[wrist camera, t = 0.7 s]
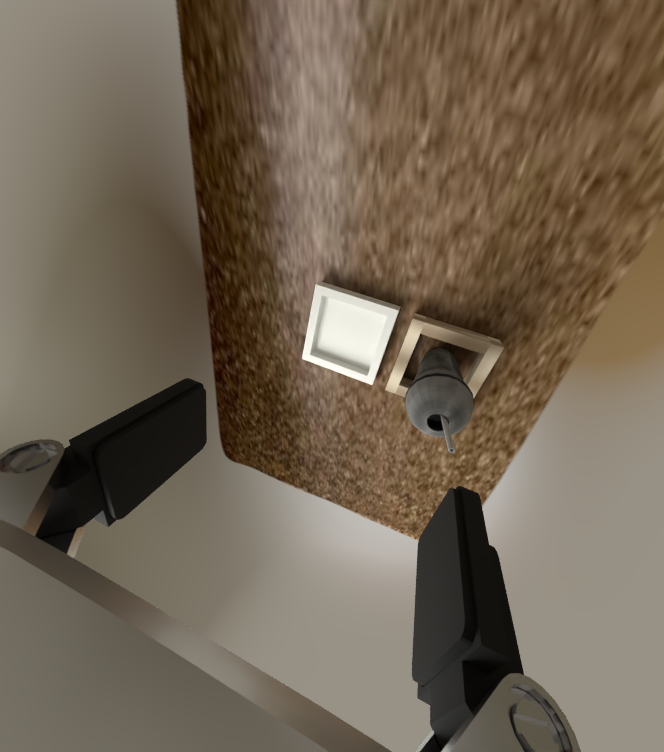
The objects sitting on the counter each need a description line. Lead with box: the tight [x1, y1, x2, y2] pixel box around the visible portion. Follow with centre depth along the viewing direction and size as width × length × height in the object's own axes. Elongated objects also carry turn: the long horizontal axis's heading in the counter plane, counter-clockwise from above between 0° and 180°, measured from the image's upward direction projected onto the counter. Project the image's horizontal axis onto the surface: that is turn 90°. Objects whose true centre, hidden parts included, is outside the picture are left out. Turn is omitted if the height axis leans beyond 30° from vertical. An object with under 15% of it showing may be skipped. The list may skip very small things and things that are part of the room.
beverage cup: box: [405, 348, 474, 453], centre depth 32 cm, size 7×7×20 cm
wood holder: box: [385, 313, 504, 398], centre depth 39 cm, size 12×12×3 cm
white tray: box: [302, 282, 401, 385], centre depth 42 cm, size 12×12×2 cm
